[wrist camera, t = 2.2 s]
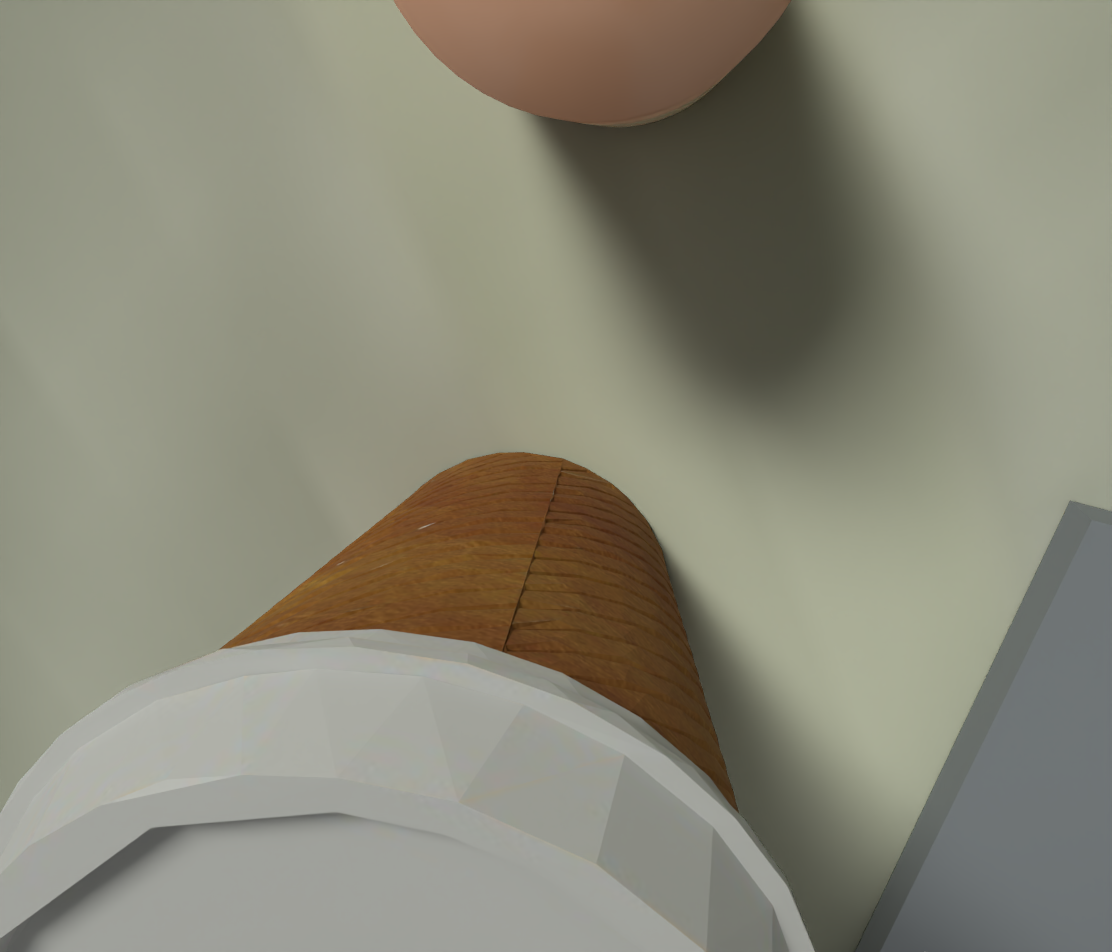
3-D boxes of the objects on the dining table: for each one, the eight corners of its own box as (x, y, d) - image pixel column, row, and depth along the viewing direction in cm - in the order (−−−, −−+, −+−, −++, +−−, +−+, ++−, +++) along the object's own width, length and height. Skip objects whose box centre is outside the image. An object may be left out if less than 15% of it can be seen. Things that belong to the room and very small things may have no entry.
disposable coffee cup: (716, 340, 18) (802, 670, 7) (767, 753, 21) (884, 1448, 10) (259, 410, 20) (-275, 772, 8) (368, 786, 23) (79, 1420, 11)
